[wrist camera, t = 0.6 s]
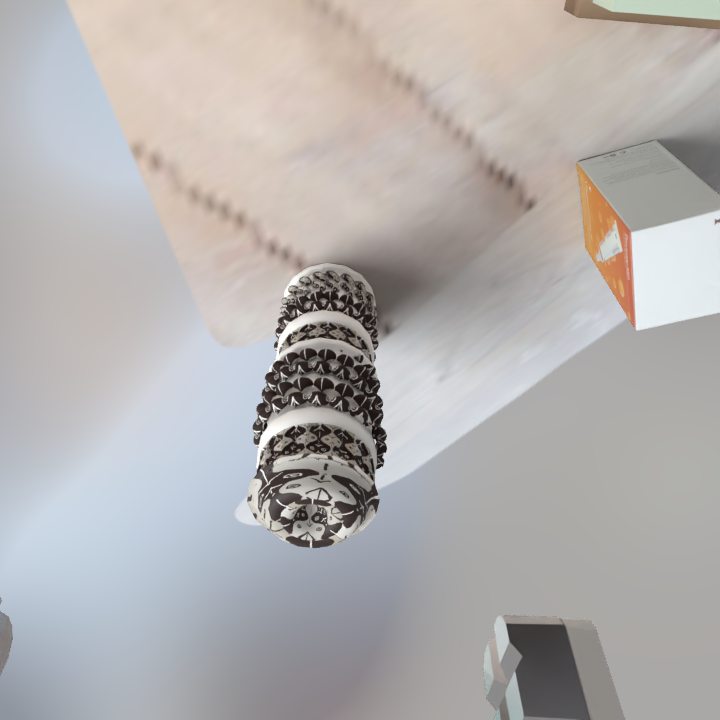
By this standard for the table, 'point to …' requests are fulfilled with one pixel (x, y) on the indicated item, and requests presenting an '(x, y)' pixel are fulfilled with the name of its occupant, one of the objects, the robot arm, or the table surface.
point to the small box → (652, 233)
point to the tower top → (665, 7)
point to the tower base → (633, 16)
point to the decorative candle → (320, 413)
